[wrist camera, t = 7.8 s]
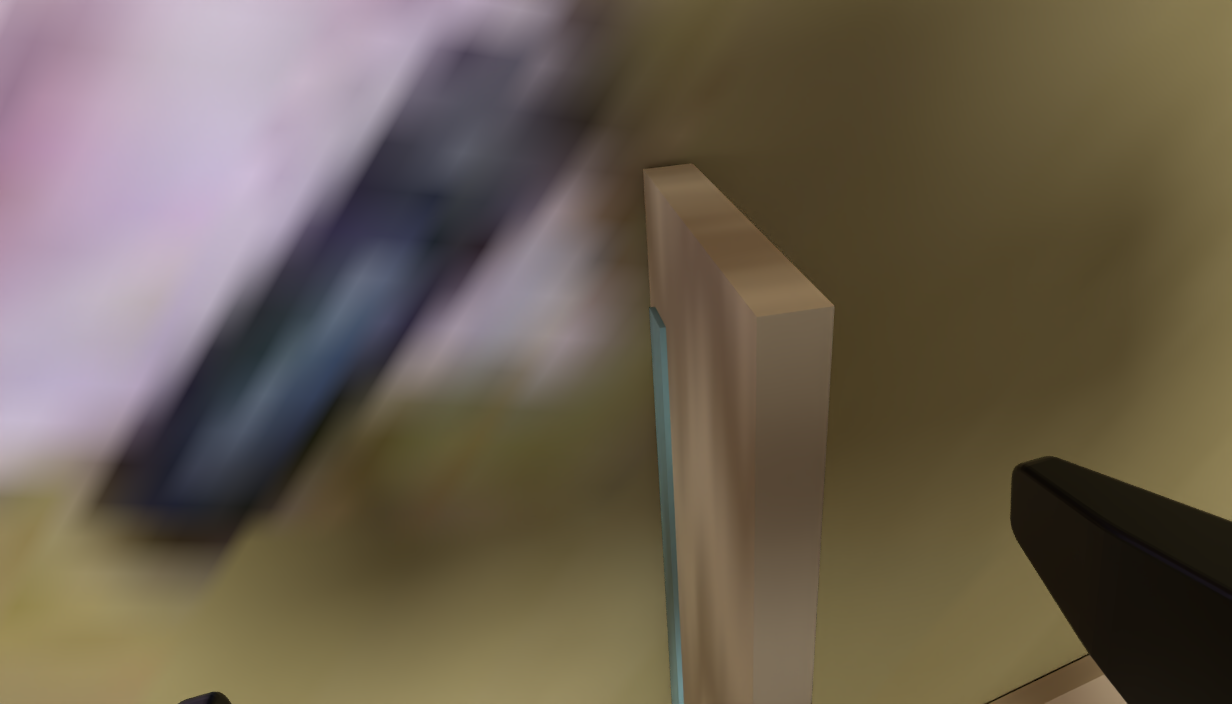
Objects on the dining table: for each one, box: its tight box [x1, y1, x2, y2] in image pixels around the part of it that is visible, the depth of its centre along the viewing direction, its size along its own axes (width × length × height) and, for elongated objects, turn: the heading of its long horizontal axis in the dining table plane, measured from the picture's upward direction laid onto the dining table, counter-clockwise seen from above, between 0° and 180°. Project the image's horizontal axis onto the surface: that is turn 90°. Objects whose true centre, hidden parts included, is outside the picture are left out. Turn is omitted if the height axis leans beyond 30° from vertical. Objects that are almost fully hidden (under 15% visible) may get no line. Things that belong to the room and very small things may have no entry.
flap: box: [643, 163, 835, 704], centre depth 15 cm, size 17×1×6 cm, turn 4°
